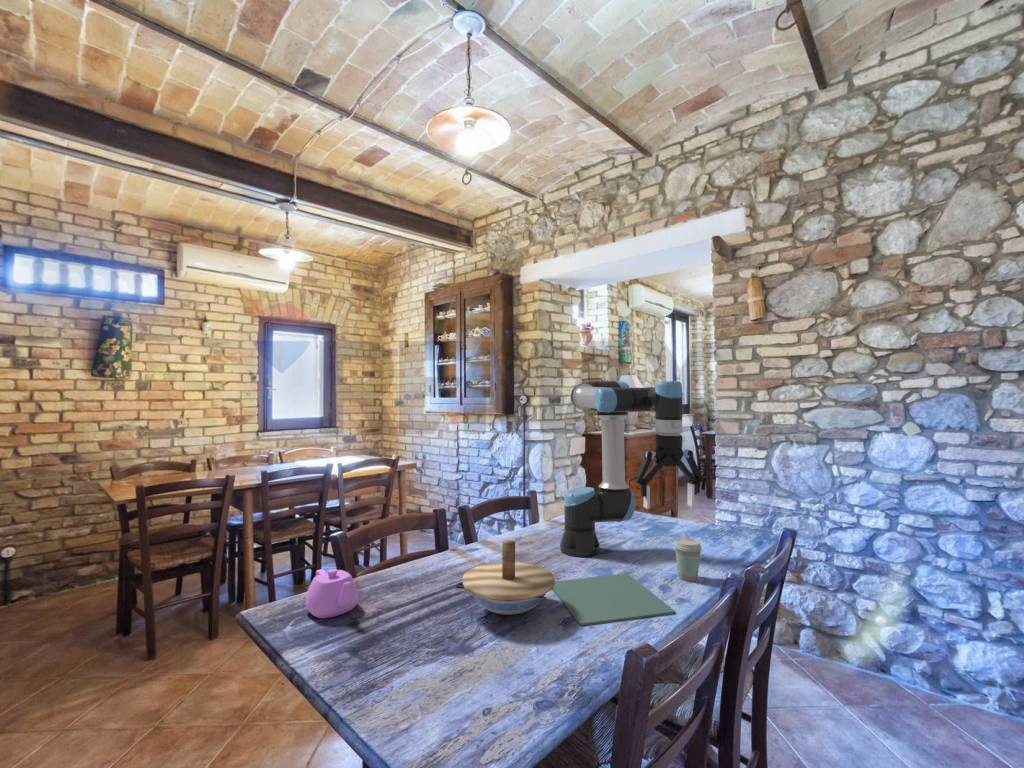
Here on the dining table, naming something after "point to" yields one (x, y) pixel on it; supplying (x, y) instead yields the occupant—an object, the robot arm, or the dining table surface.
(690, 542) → the coffee cup
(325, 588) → the teapot
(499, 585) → the lid
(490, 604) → the ramen bowl
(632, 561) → the dining table surface
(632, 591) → the mat
